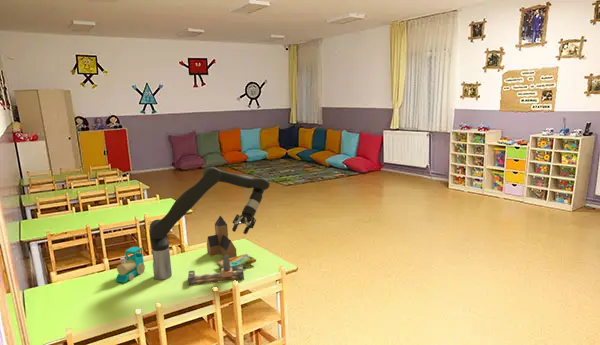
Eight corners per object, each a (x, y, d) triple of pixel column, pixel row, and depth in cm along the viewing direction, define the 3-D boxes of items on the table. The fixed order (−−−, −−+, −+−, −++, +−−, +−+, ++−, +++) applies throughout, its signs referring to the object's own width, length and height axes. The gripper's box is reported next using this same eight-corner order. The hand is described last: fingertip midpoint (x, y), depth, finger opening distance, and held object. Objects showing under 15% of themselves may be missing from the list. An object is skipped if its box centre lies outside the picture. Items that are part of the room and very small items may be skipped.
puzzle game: (216, 260, 243) (246, 252, 254) (217, 268, 243) (246, 259, 255) (225, 267, 233) (256, 258, 245) (226, 275, 234) (256, 265, 246)
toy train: (114, 282, 228) (111, 257, 225) (134, 270, 244) (131, 246, 241) (125, 284, 226) (122, 258, 223) (145, 271, 241) (142, 247, 238)
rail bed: (188, 285, 222) (187, 277, 221) (189, 278, 230) (188, 270, 230) (243, 279, 227) (243, 271, 226) (242, 272, 236) (242, 264, 235)
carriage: (221, 277, 226) (220, 258, 224) (221, 273, 232) (220, 254, 230) (232, 276, 228) (231, 257, 225) (232, 272, 233) (231, 253, 231)
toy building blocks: (225, 248, 273) (223, 213, 268) (236, 258, 257) (234, 220, 252) (207, 253, 266) (204, 216, 261) (217, 263, 250) (215, 224, 245)
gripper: (238, 203, 243) (226, 227, 236) (256, 206, 235) (244, 231, 228) (245, 209, 249) (233, 233, 242) (263, 213, 241) (251, 237, 234)
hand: (238, 232), depth 235 cm, fingers open, 8 cm apart
